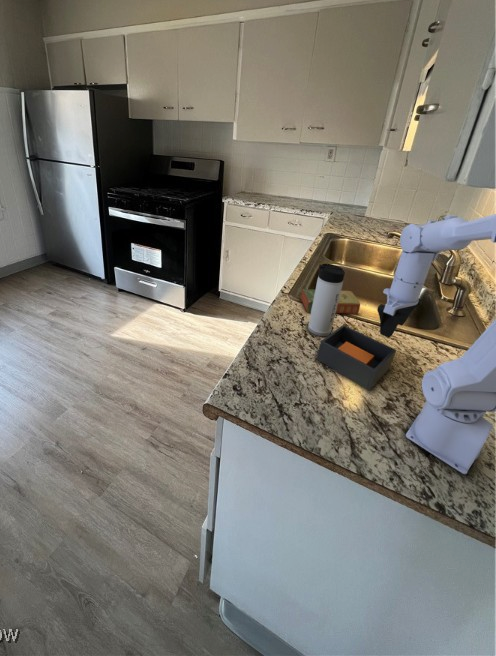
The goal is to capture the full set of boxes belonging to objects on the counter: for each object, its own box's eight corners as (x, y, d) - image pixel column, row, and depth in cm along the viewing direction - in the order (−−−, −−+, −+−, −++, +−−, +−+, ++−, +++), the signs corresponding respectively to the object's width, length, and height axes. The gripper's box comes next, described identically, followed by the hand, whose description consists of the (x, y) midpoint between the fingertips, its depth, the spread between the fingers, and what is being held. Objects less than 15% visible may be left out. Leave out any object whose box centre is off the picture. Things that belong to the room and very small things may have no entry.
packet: (371, 365, 76) (374, 355, 75) (362, 373, 73) (366, 364, 72) (343, 350, 81) (346, 341, 79) (335, 358, 78) (337, 348, 77)
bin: (389, 368, 76) (396, 349, 74) (369, 390, 69) (376, 371, 67) (338, 341, 85) (343, 324, 82) (316, 359, 78) (320, 341, 76)
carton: (358, 314, 97) (361, 303, 95) (306, 312, 98) (308, 301, 96) (348, 300, 105) (351, 289, 103) (300, 299, 105) (302, 287, 103)
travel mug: (305, 322, 93) (317, 260, 84) (328, 324, 92) (342, 262, 83) (308, 335, 87) (321, 270, 78) (332, 337, 86) (349, 272, 78)
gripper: (402, 264, 76) (386, 311, 82) (376, 280, 67) (361, 332, 73) (435, 274, 71) (416, 324, 77) (412, 293, 62) (393, 348, 68)
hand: (391, 329), depth 75 cm, fingers open, 7 cm apart
